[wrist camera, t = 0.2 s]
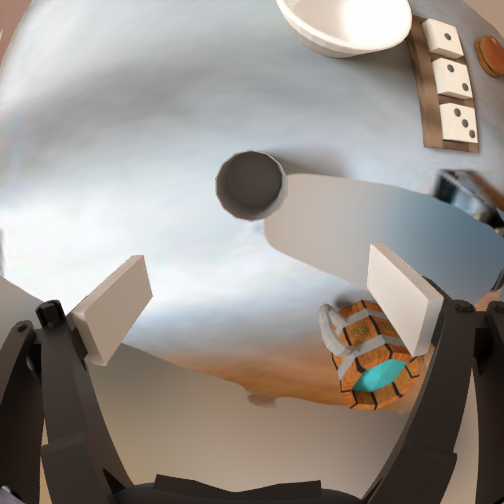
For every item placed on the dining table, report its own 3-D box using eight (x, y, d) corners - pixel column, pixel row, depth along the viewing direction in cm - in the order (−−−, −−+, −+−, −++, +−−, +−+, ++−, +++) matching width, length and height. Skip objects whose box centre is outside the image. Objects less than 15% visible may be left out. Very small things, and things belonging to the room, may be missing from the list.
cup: (288, 159, 39) (295, 160, 30) (275, 211, 42) (278, 228, 33) (232, 146, 39) (222, 143, 30) (221, 199, 42) (208, 212, 32)
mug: (401, 323, 48) (433, 371, 34) (352, 365, 52) (371, 418, 38) (340, 265, 45) (370, 313, 31) (286, 319, 48) (293, 378, 34)
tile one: (420, 24, 27) (430, 17, 24) (445, 32, 27) (455, 27, 23) (428, 52, 29) (439, 47, 26) (453, 59, 29) (464, 55, 25)
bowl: (291, -29, 27) (296, -64, 17) (393, 13, 28) (419, -11, 18) (253, 46, 33) (249, 15, 23) (368, 92, 35) (398, 76, 25)
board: (400, 18, 29) (405, 13, 26) (449, 32, 28) (456, 29, 25) (423, 146, 37) (431, 146, 35) (470, 151, 36) (478, 152, 34)
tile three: (438, 105, 32) (450, 102, 29) (462, 110, 32) (474, 108, 29) (441, 139, 34) (454, 139, 31) (465, 142, 34) (478, 143, 31)
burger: (488, 82, 30) (502, 79, 26) (466, 42, 28) (478, 37, 23) (506, 72, 28) (518, 70, 24) (485, 36, 26) (497, 31, 21)
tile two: (430, 62, 30) (441, 57, 26) (455, 69, 29) (466, 65, 26) (436, 94, 32) (448, 91, 28) (460, 99, 31) (473, 97, 28)
